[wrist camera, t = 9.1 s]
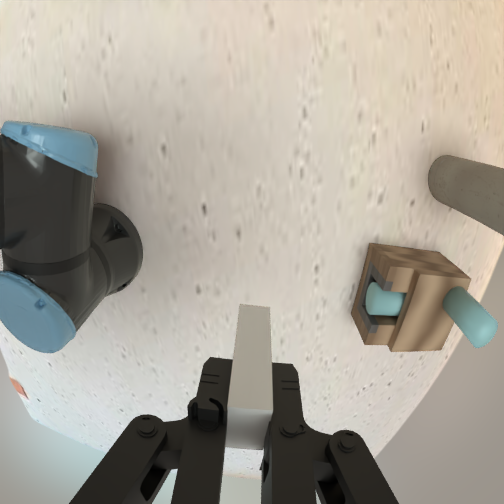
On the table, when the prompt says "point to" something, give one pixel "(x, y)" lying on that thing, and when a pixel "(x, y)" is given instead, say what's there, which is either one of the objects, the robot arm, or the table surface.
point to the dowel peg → (383, 301)
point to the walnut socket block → (408, 298)
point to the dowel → (470, 316)
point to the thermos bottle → (470, 189)
